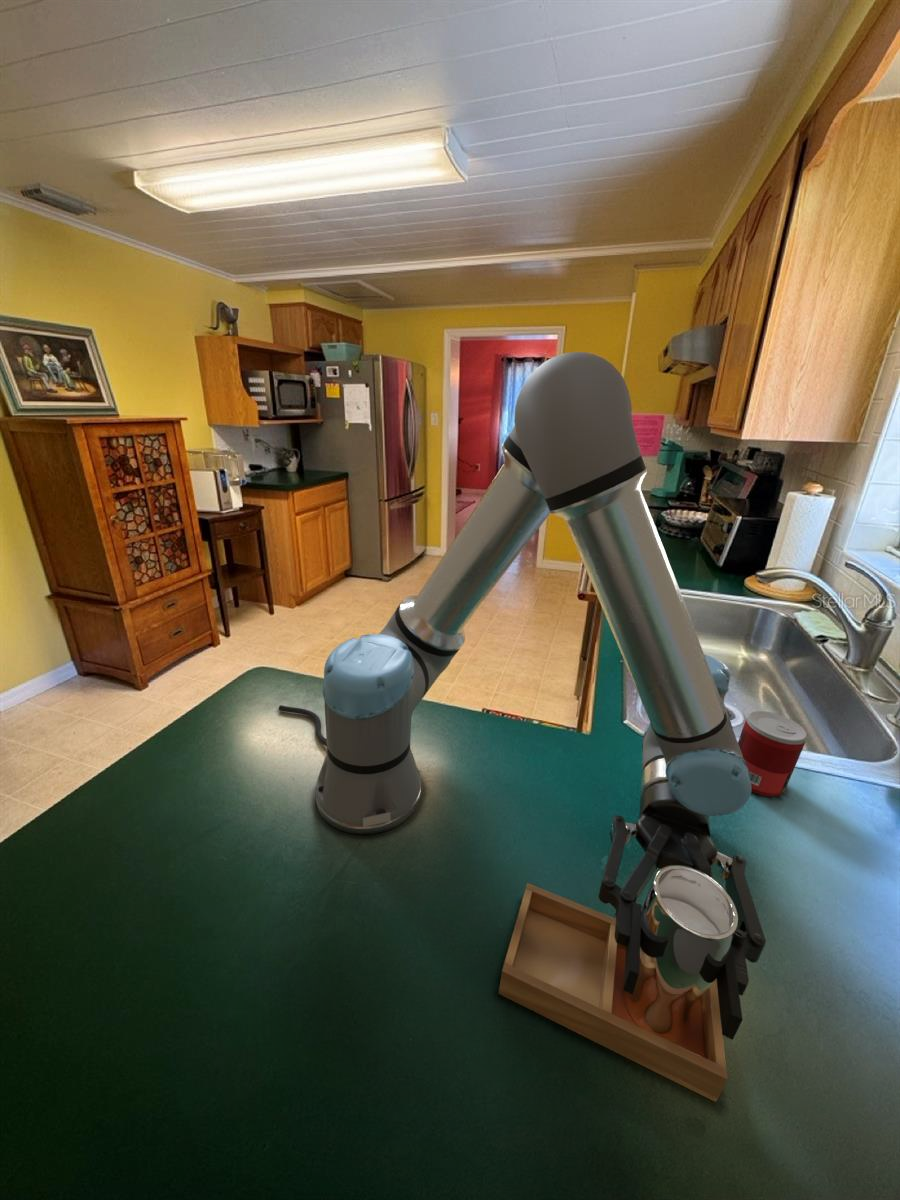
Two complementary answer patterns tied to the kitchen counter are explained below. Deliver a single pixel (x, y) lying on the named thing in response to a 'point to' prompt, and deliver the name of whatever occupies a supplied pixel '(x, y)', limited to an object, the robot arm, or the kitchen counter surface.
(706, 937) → the metal tumbler cup
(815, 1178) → the kitchen counter surface
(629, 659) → the robot arm
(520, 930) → the tray
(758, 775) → the canned food
